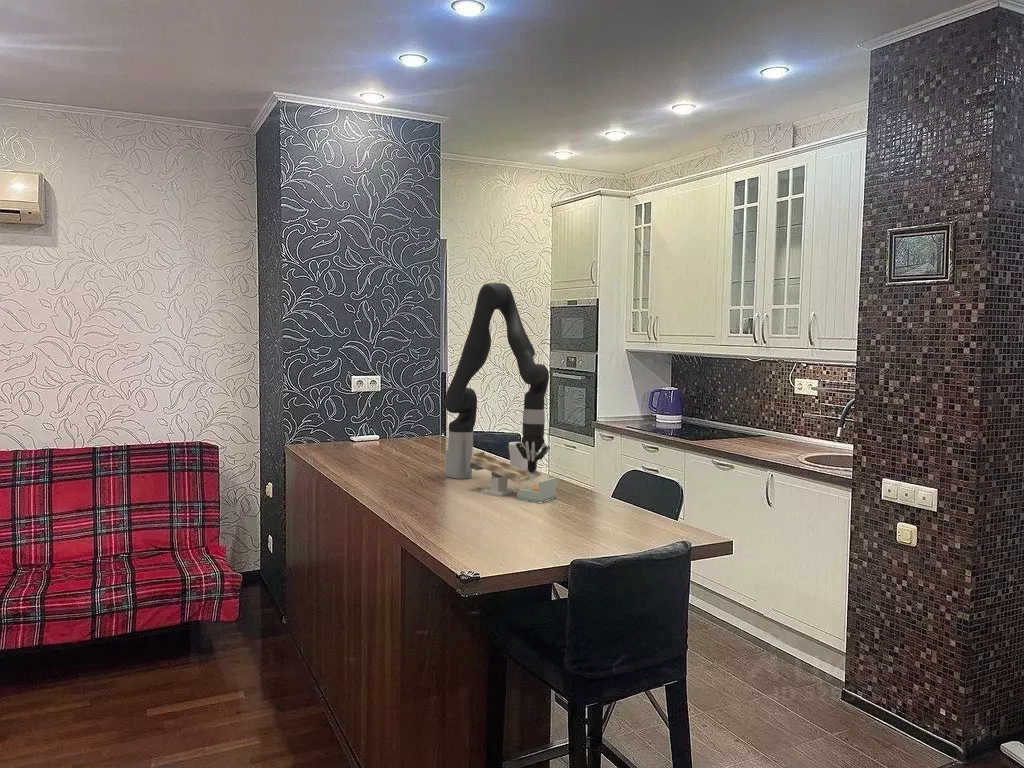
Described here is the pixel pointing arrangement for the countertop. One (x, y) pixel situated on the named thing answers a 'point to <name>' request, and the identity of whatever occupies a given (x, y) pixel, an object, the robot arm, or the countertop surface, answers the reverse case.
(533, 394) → the robot arm
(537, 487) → the ball
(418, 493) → the countertop surface
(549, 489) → the bin
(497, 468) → the board
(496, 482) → the lever stand
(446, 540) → the countertop surface
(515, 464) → the foam cup
